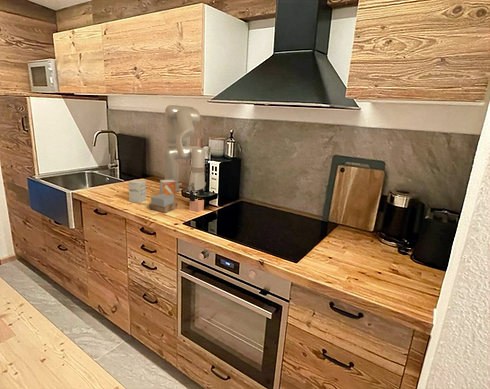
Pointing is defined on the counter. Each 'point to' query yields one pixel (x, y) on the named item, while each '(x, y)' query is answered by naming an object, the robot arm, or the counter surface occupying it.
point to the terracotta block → (196, 205)
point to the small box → (168, 187)
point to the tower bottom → (163, 208)
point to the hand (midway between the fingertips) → (197, 199)
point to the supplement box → (137, 191)
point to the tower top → (162, 200)
